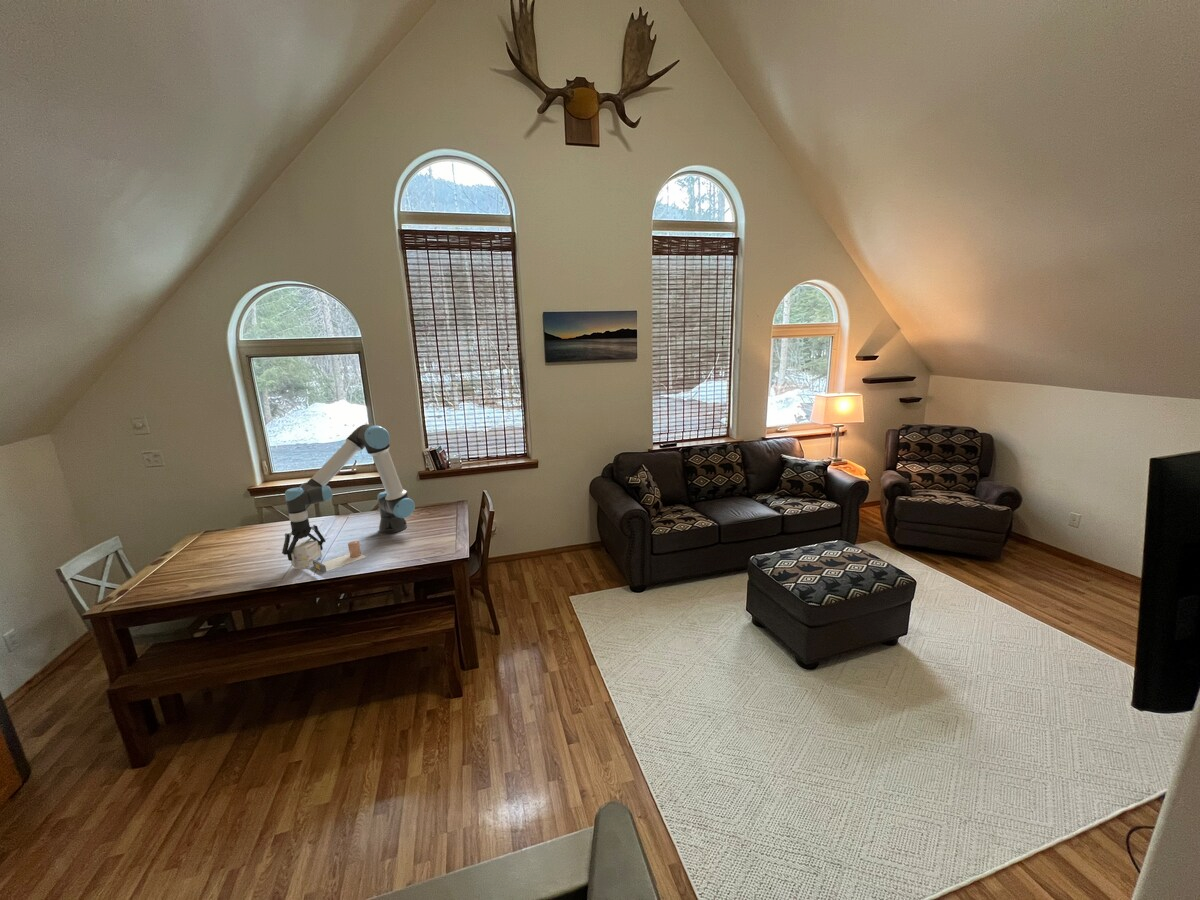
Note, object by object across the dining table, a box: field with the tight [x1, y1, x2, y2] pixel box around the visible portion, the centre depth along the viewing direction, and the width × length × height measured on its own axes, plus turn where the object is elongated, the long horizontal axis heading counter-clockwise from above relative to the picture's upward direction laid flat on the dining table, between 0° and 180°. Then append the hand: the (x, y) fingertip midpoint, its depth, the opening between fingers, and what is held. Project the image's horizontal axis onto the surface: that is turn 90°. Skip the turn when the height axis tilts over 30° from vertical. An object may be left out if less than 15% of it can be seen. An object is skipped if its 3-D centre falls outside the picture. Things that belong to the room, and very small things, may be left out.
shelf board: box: [312, 552, 367, 573], centre depth 233 cm, size 20×12×4 cm, turn 142°
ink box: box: [292, 537, 322, 570], centre depth 233 cm, size 9×8×13 cm
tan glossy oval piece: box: [347, 540, 362, 558], centre depth 239 cm, size 5×5×7 cm
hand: (307, 561), depth 234 cm, fingers closed on ink box, 11 cm apart
